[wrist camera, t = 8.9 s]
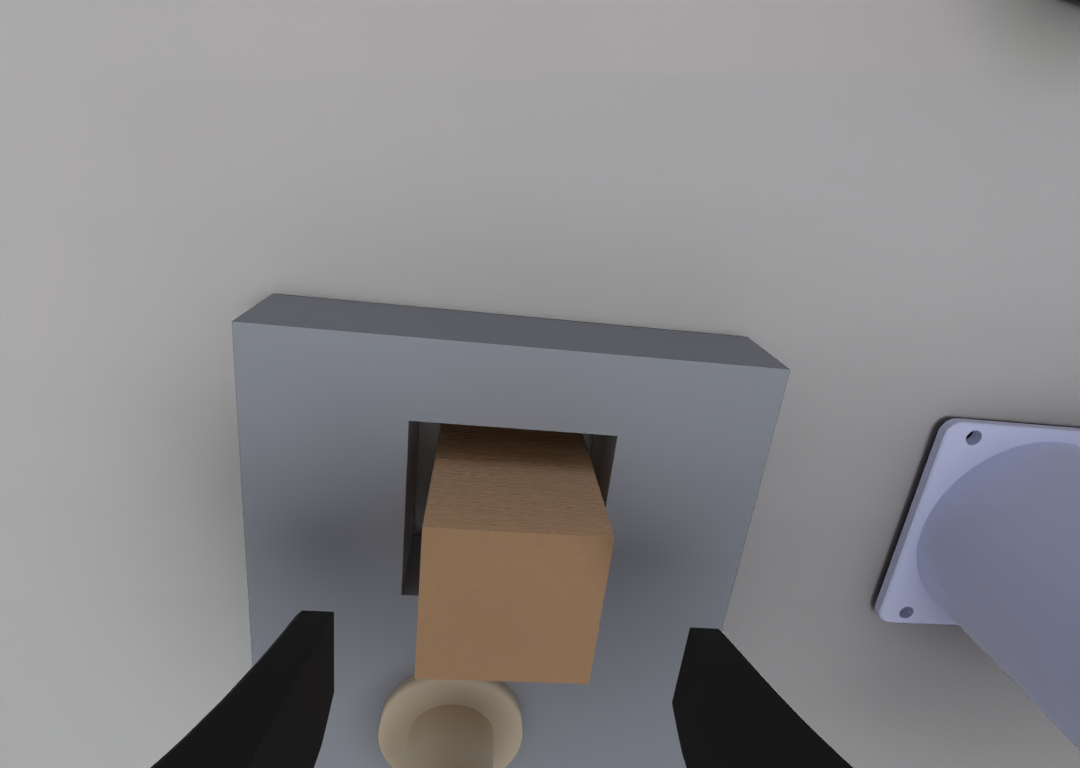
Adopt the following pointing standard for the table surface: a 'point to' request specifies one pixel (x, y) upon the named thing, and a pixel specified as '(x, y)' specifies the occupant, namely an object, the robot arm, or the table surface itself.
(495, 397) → the board with square hole
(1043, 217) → the table surface
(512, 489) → the brown wooden block
